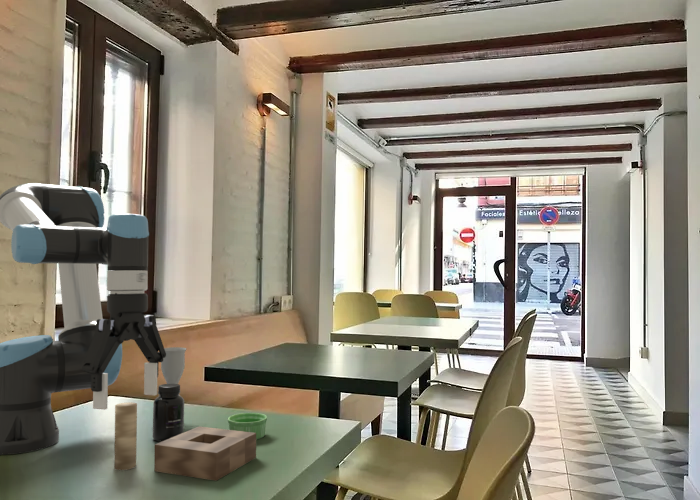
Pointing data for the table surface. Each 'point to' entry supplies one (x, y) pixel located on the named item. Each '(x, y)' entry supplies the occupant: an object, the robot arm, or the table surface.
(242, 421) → the ramekin
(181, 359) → the chalice
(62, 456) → the table surface
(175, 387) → the supplement bottle
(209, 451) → the socket block
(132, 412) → the peg
